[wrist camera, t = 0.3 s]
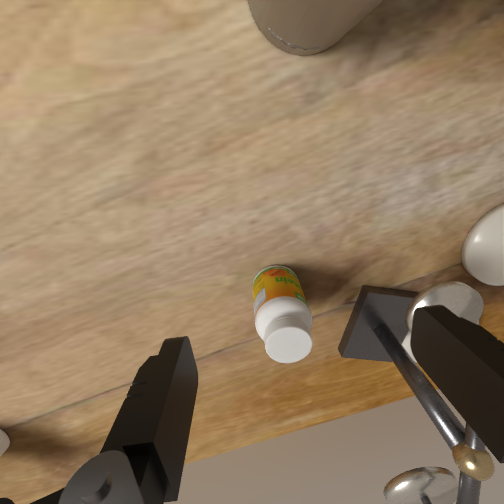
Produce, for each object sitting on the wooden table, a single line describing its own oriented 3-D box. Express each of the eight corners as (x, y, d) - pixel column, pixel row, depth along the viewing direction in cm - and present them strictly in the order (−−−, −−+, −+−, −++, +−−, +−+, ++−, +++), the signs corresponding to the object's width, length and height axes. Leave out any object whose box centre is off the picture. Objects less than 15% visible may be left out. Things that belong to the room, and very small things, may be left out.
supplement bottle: (306, 274, 30) (334, 333, 21) (284, 309, 32) (300, 376, 23) (265, 256, 29) (276, 311, 20) (244, 293, 31) (246, 358, 22)
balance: (379, 243, 29) (594, 419, 11) (437, 252, 30) (724, 429, 12) (326, 377, 38) (402, 595, 20) (372, 381, 38) (485, 595, 21)
